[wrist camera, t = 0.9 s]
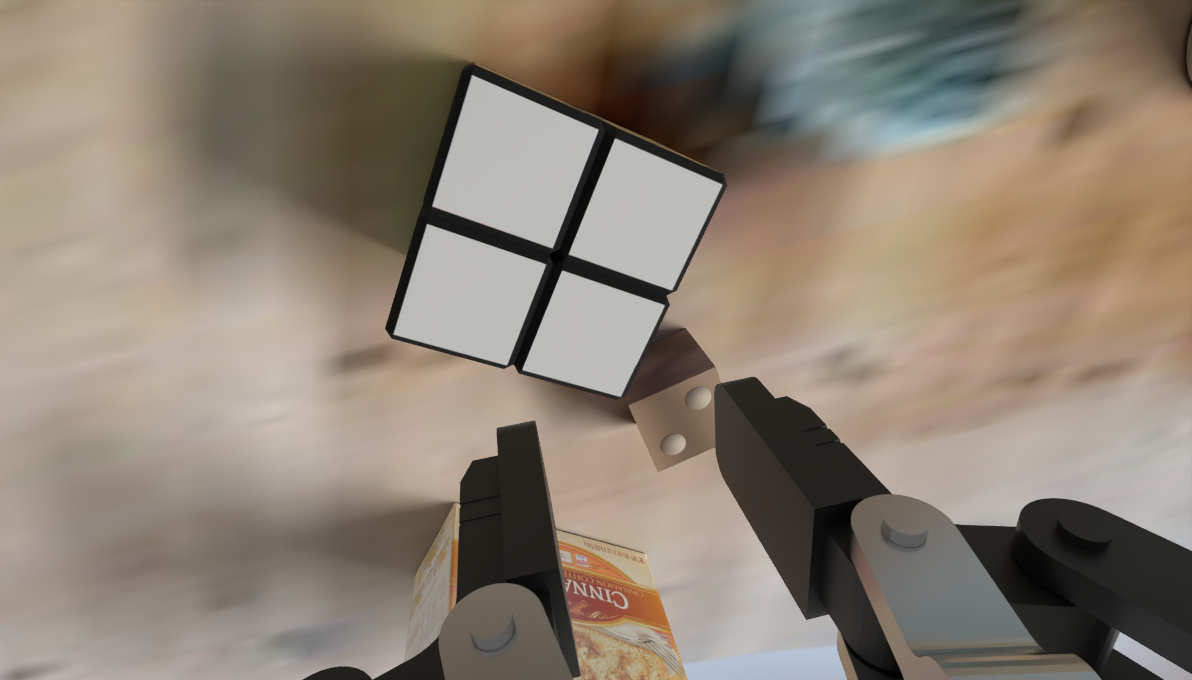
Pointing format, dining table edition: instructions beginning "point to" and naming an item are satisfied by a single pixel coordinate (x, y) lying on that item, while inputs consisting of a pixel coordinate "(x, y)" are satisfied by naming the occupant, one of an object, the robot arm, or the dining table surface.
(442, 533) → the coffeecake box
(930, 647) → the robot arm
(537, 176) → the puzzle cube
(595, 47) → the dining table surface
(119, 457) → the dining table surface
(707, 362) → the walnut block
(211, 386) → the dining table surface
